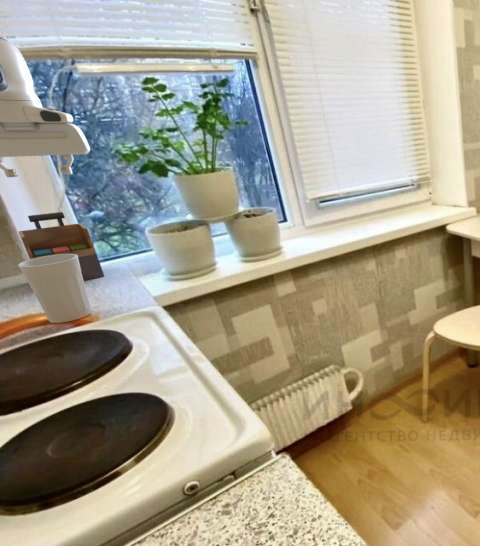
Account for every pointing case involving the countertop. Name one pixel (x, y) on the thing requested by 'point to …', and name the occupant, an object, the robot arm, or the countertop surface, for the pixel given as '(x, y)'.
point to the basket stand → (90, 267)
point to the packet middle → (60, 250)
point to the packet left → (42, 252)
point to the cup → (58, 286)
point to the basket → (55, 236)
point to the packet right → (77, 247)
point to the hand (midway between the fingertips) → (41, 175)
